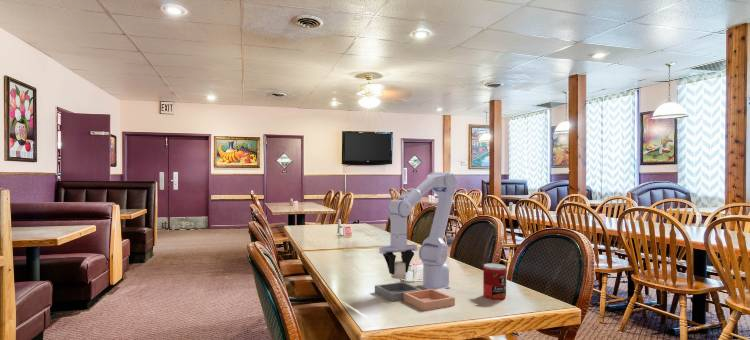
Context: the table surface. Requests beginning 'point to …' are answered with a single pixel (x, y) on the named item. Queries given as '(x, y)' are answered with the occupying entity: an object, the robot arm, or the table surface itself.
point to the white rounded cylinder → (399, 270)
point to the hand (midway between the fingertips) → (398, 272)
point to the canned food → (494, 281)
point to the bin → (394, 290)
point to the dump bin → (429, 299)
